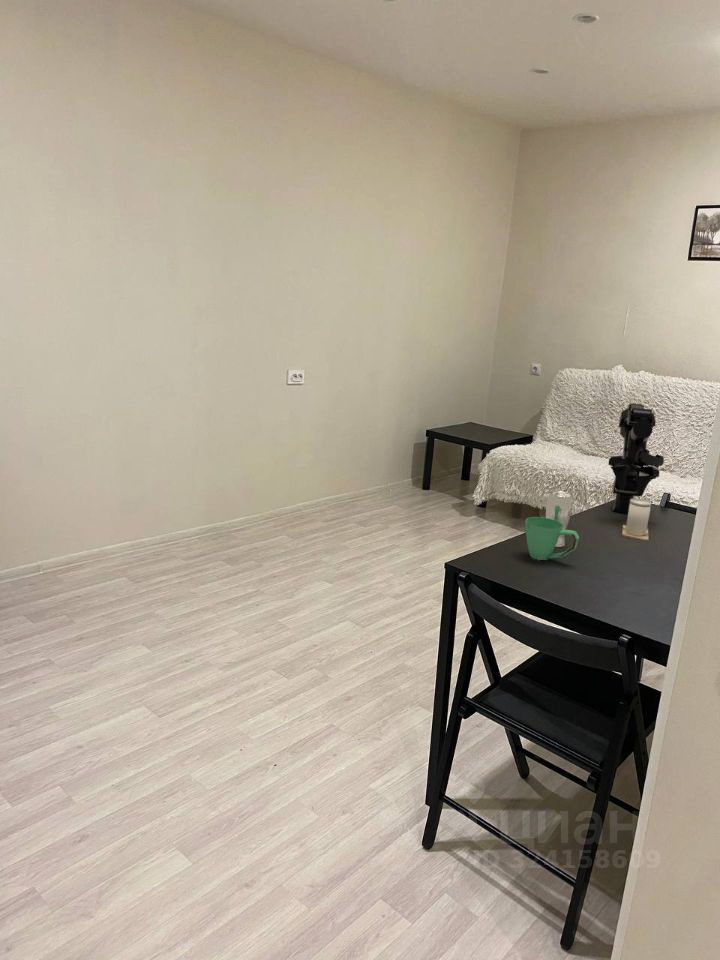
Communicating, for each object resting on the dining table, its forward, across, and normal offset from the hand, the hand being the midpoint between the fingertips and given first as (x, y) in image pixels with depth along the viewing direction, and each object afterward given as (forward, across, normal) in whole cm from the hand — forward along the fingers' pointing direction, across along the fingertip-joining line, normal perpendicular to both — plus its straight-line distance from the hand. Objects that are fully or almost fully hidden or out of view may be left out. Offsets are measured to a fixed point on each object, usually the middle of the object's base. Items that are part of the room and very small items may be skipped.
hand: (631, 493), depth 232 cm
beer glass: (+22, -33, -1) cm, 40 cm away
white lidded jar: (+13, -3, -6) cm, 15 cm away
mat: (+13, -1, -4) cm, 14 cm away
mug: (+28, -44, -10) cm, 53 cm away
